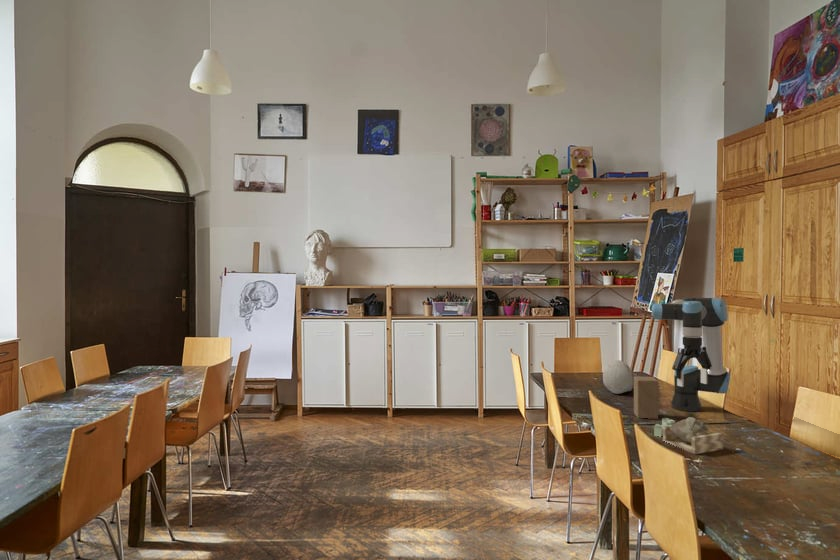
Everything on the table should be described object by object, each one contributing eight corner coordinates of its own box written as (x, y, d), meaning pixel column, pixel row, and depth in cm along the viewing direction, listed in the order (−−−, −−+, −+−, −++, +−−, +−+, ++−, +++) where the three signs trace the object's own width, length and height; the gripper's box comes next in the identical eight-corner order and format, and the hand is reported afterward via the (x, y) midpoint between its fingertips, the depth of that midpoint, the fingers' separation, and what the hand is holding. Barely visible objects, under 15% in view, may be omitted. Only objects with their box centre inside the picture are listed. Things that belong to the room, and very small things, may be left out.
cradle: (689, 437, 235) (689, 422, 235) (723, 449, 219) (723, 433, 219) (662, 441, 230) (662, 426, 230) (694, 454, 214) (694, 438, 214)
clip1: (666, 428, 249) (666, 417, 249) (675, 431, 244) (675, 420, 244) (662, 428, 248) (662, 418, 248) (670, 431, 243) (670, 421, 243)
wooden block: (658, 419, 263) (658, 380, 263) (637, 418, 265) (637, 380, 265) (653, 414, 273) (653, 376, 272) (633, 413, 275) (633, 376, 274)
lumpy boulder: (668, 426, 235) (706, 427, 229) (671, 448, 227) (710, 450, 221) (668, 412, 228) (706, 412, 222) (670, 435, 220) (710, 436, 214)
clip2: (656, 434, 240) (656, 423, 239) (667, 436, 236) (667, 425, 236) (654, 436, 237) (654, 425, 237) (665, 438, 234) (665, 427, 234)
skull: (637, 388, 329) (637, 357, 329) (629, 398, 306) (629, 364, 306) (610, 385, 338) (609, 355, 338) (600, 394, 315) (600, 362, 315)
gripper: (706, 333, 232) (706, 380, 232) (663, 337, 223) (663, 385, 224) (721, 335, 224) (720, 383, 225) (677, 339, 216) (677, 389, 217)
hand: (692, 384), depth 224 cm, fingers open, 13 cm apart
